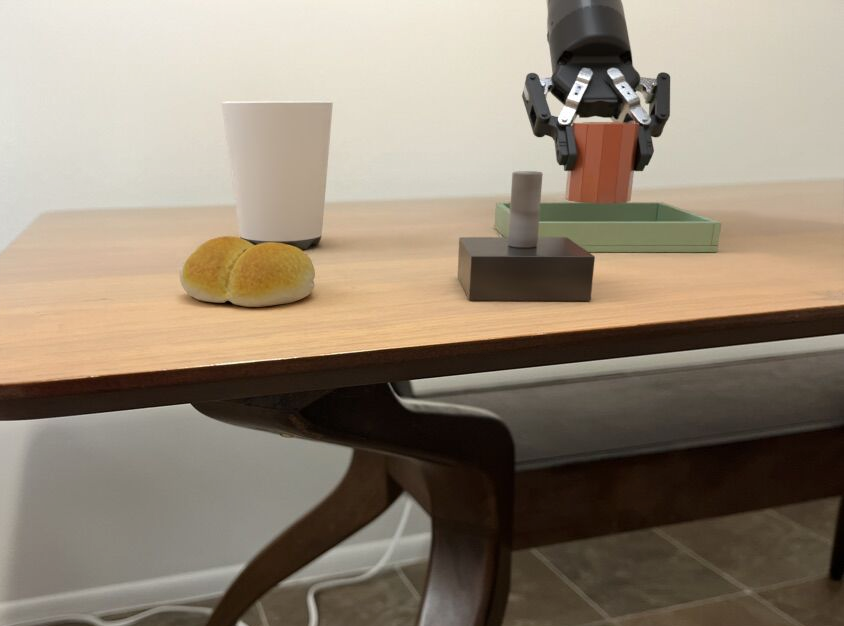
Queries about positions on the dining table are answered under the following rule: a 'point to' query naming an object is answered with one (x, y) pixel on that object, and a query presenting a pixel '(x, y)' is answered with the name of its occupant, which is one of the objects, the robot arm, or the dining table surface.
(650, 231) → the tray
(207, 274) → the bread roll
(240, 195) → the cup
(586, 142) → the reddish-brown round cylinder
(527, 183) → the ring holder
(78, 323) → the dining table surface
